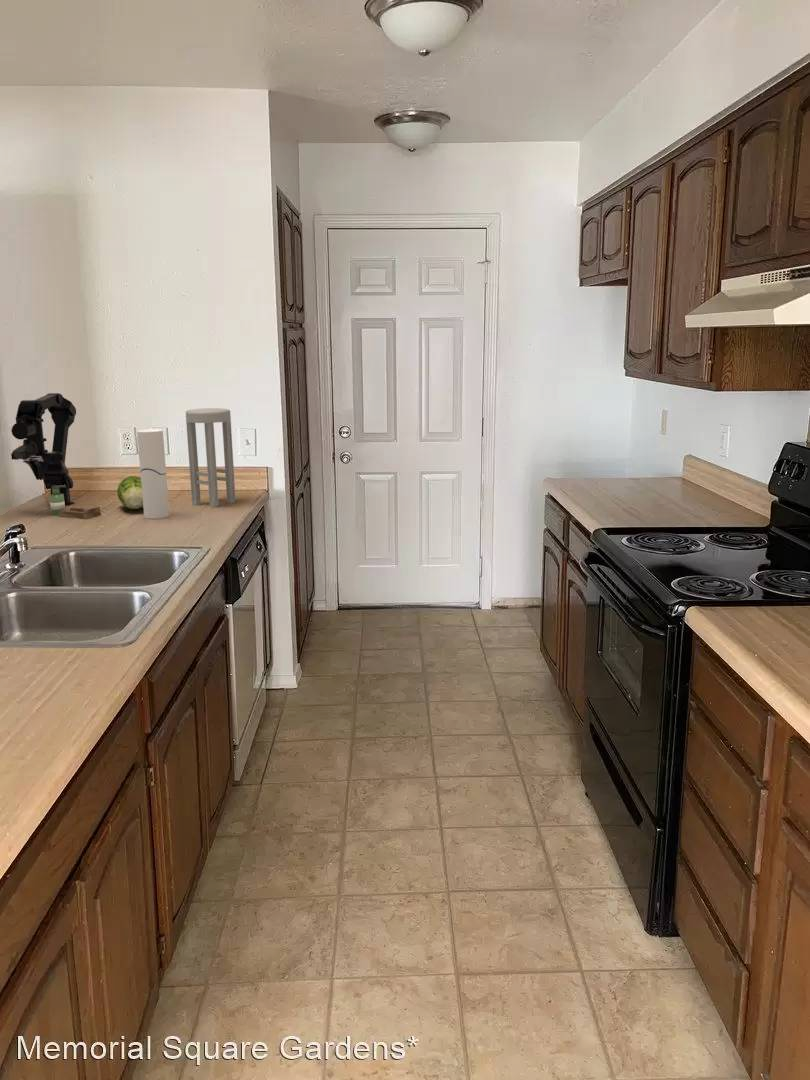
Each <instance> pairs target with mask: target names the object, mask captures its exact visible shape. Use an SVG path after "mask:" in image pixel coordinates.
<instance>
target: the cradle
mask: <svg viewBox="0 0 810 1080" xmlns="http://www.w3.org/2000/svg"><path fill="white" fill-rule="evenodd" d="M58 512H59V515H58V517H61V518H72V519H81V520H84V519H85V520H88V519H92V518H95V517H99V516H101V515H102V514H101V507H100V506H93V507H91V508H85V507H75V506H73V507H72V506H71V507H69V510H66V509H65V510H60V511H58Z"/></svg>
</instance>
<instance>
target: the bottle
mask: <svg viewBox="0 0 810 1080" xmlns="http://www.w3.org/2000/svg"><path fill="white" fill-rule="evenodd" d="M59 488H60V487H59V486H52V490H53V494H51V495H50V494H49V495H48V497H49V504H50V505H49V506H50V507H49V508H50V515H51V516H59V512H58V511H60V510H66V505H65V502H64V494H60V492H59Z"/></svg>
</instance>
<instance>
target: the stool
mask: <svg viewBox="0 0 810 1080" xmlns="http://www.w3.org/2000/svg"><path fill="white" fill-rule="evenodd" d="M231 417H232V415H231V410H230V409H228V408H221V407H219V408H217V407H216V408H214V407H213V408H212V407H211V408H210V407H209V408H194V409H188V410H185V420H186V422H185V423H186V435H187V436H186V437H187V449H188V450H187V451H188V452H187V453H188V463H189V464H188V466H189V478H190V492H191V493H190V494H191V504H192V505H193V506H194V505H195V506H198V505H202V499H201V486H200V485H206V486H207V487H208V497H209V498H208V499H209V507H210V508H217V507H220V505H219V490H218V489H219V487H218V481H223V482H225V488H226V489H225V490H226V503H227V504H233V503H234V504H235V503H236V488H235V487H236V485H235V471H234V470H235V469H234V455H233V454H234V452H233V451H234V450H233V435H232V433H233V432H232V420H231V419H232V418H231ZM214 423H221V424H222V426H221V427H222V440H223V442H222V444H223V457H224V469H223V468H217V458H216V457H217V456H216V441H215V439H216V438H215V428H214V427H215V426H214ZM196 424H204V437H205V439H204V440H205V454H206V469H207V472H205V471H204V472H203V471H199V459H198V458H199V457H198V445H197V444H198V441H197V430H196V429H197V426H196ZM217 473H220V474H221V473H222V474H224V475H225V477H224V476H223V477H221V476H218V474H217ZM200 477H207V480H203V479H200Z"/></svg>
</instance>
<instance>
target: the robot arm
mask: <svg viewBox="0 0 810 1080" xmlns="http://www.w3.org/2000/svg"><path fill="white" fill-rule="evenodd" d="M46 410H47V411H48V412H49V413H50V417H51V419H52V422H53V424H54V430H53V431H54V432H53V441H52V448H51V451H49V449H46V446H45V442H47V438H46V437H44V431H43V429H44V428H43V422H44V419H43V418H42V417H43V415H44V414H45V413H46ZM76 415H77V409H76V407H75V405H74V404H73V402H72V401H70V400H68V399H67V398H66V397H64V396H63V395H62V394H61V393H59V392H58V393H57V392H56V393H55V392H54V393H53V392H52V393H50V392H49V393H47V394H46V395H43V396H41V397H38V398H36V399H28V400H27V399H25V400H20V402H19V404H18V406H17V412H16V416H15V423H14V424H13V425H12V427H11V429H10V432H11V435H12V436H13V437H14V438H15V439H17V440H23V441H22V445H20V446H18V447H16V448H15V449H14V450H13V451H12V452H11V453H10V455H11V456H10V457H11V460H15V461H16V460H17V461H18V460H22V462H23V463H25V464H26V465H28V466H29V468H30V469H31V471H32V474H33V476H34V477H35V479H36V480H37V481H38V480H39V481H42V480H43V483H44V486H45V489H46V490H50V494H49V495H51V494H53V490H52V486H59V487H60V488H59V492H60V494H64V502H65V506H67V505H72V504H74V503H75V501H71V494H70V489H73V488H74V481H73V479H72V477H71V476H70V475H69V469H68V467H67V466H66V463H65V462H66V455H67V446H68V437H69V429H70V427H71V426H72V424H73V423H75V418H76ZM48 506H50V503H48Z"/></svg>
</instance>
